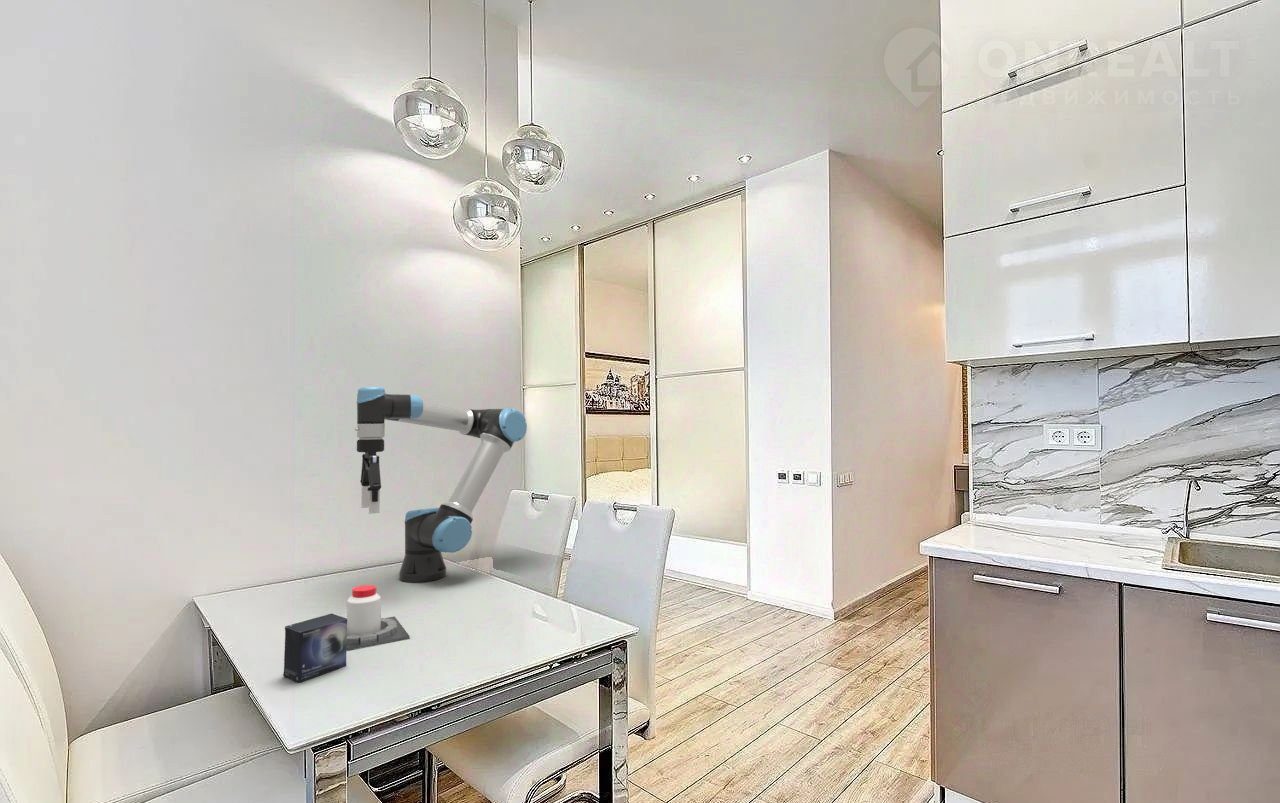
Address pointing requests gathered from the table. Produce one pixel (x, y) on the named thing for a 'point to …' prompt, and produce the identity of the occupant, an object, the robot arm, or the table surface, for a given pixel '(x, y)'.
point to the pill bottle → (363, 611)
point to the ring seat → (379, 635)
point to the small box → (315, 647)
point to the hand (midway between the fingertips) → (370, 510)
